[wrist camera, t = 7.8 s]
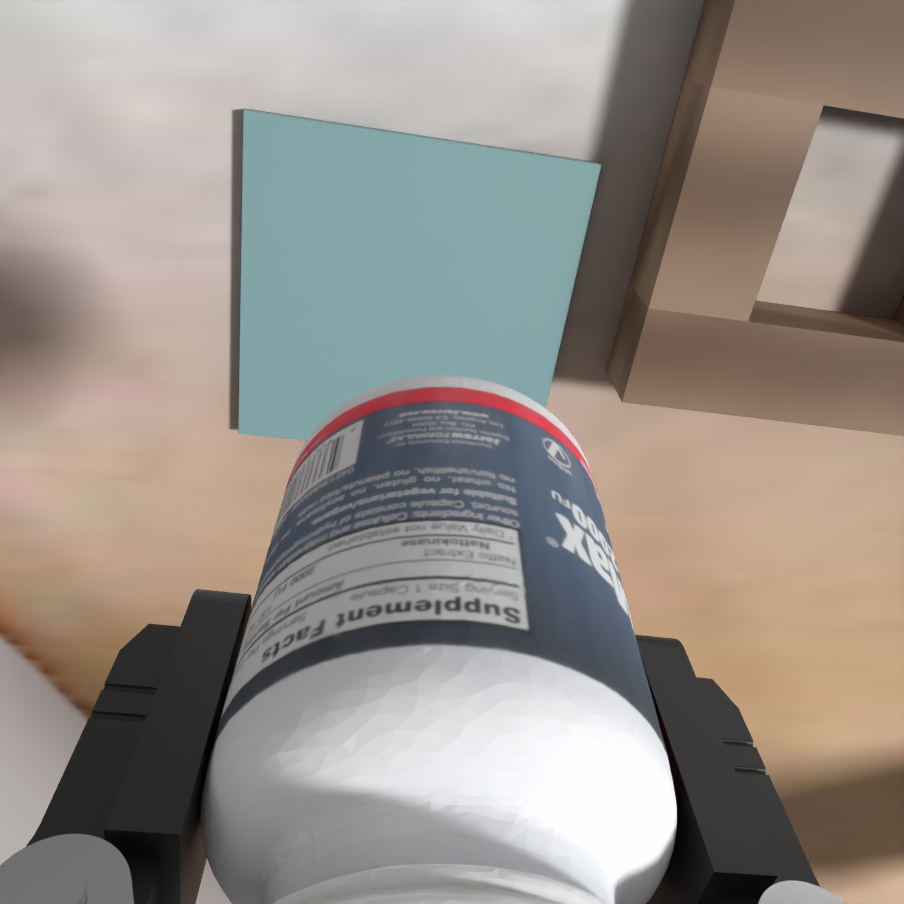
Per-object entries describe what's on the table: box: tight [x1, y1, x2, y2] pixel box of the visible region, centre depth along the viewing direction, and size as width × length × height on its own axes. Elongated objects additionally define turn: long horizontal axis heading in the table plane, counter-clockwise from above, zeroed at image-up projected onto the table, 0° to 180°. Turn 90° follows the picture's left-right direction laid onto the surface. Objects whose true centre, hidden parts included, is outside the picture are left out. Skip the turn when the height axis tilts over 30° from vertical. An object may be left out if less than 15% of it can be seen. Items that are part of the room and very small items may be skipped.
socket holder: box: [607, 0, 904, 436], centre depth 25 cm, size 13×13×2 cm
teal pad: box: [238, 109, 601, 441], centre depth 27 cm, size 11×11×1 cm
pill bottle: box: [200, 375, 677, 904], centre depth 10 cm, size 5×5×9 cm
